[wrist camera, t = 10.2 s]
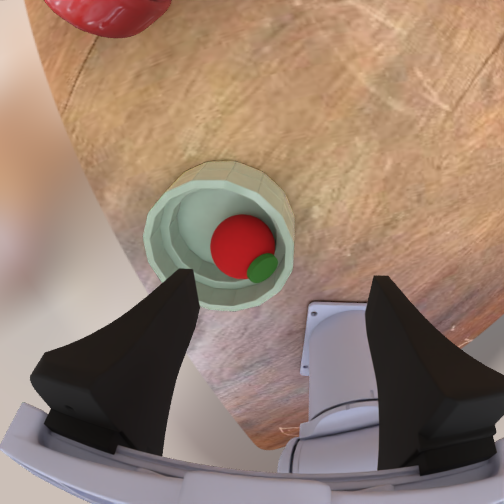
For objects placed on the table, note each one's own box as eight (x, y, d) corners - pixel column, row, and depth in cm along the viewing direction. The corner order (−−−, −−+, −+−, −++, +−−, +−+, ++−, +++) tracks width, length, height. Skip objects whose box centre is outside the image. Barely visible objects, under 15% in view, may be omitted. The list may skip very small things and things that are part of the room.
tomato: (251, 238, 23) (288, 277, 21) (202, 261, 22) (236, 305, 19) (251, 193, 20) (294, 232, 18) (195, 216, 19) (234, 262, 16)
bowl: (291, 278, 24) (289, 315, 20) (175, 271, 25) (158, 305, 21) (296, 159, 19) (297, 181, 16) (157, 160, 20) (131, 181, 17)
